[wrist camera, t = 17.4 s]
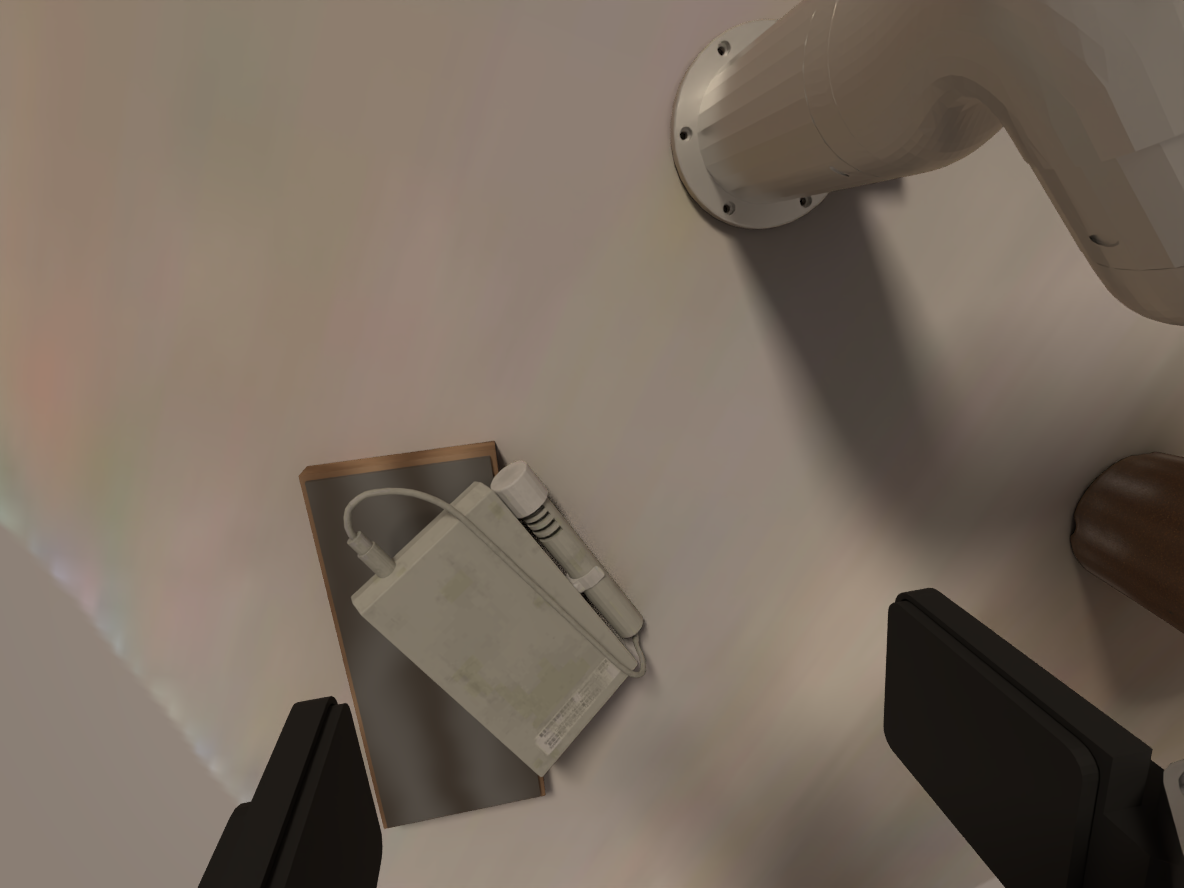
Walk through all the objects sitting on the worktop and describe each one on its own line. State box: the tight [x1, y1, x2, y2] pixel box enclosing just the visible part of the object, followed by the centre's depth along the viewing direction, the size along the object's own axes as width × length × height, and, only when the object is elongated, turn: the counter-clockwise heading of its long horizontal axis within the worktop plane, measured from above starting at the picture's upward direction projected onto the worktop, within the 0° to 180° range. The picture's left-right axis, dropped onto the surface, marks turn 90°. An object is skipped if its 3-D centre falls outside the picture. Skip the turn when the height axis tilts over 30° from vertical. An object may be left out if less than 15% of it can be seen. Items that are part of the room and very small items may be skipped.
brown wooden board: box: [299, 441, 546, 829], centre depth 48 cm, size 13×30×2 cm, turn 6°
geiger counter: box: [344, 461, 646, 777], centre depth 44 cm, size 14×6×25 cm
